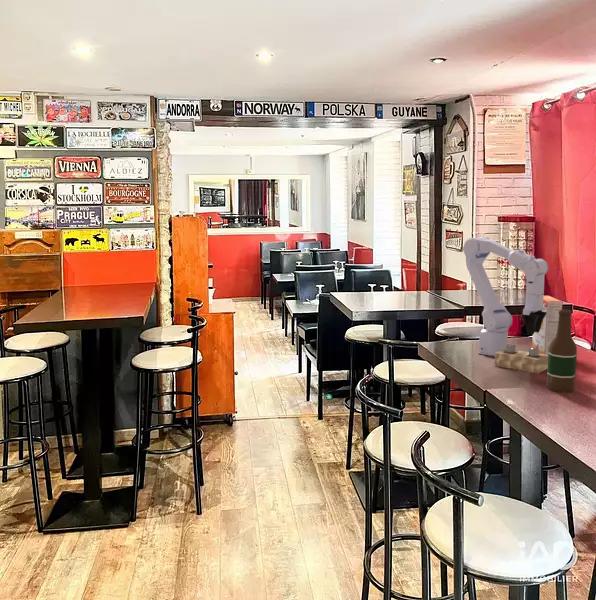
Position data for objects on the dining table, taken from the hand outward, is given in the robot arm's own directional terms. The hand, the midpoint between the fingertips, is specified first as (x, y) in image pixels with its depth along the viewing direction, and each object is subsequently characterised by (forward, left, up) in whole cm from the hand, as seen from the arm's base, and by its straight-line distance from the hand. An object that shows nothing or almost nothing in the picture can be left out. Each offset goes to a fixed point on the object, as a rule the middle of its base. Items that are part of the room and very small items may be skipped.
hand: (533, 333), depth 227 cm
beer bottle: (+20, -27, -11) cm, 35 cm away
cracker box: (-1, +16, -11) cm, 19 cm away
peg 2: (+4, -9, -8) cm, 13 cm away
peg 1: (-4, -9, -8) cm, 13 cm away
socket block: (0, -9, -10) cm, 14 cm away
